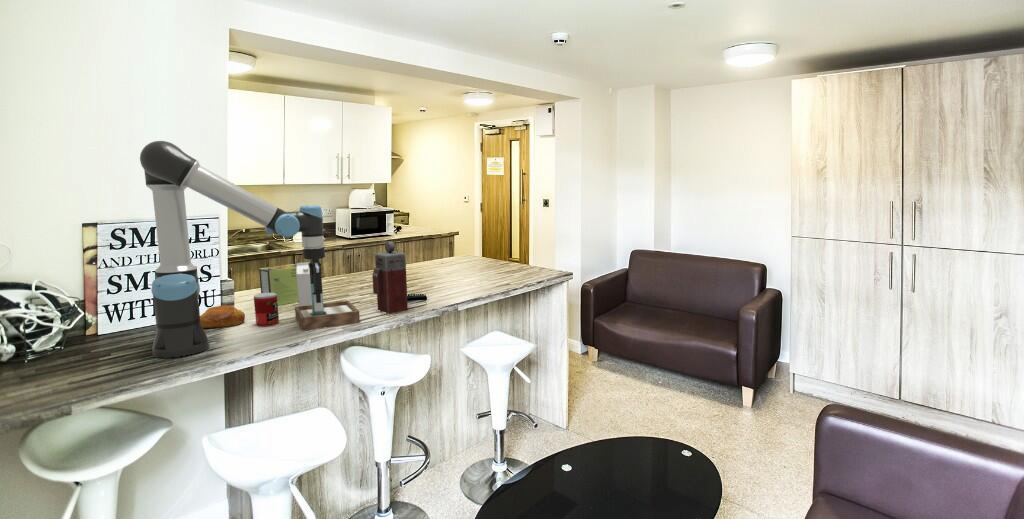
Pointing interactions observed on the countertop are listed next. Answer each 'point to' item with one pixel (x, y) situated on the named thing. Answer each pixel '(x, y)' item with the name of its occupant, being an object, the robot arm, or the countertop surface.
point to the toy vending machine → (390, 280)
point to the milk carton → (304, 284)
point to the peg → (313, 303)
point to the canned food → (266, 309)
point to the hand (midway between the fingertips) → (317, 309)
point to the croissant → (221, 317)
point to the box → (327, 315)
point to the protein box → (280, 282)
